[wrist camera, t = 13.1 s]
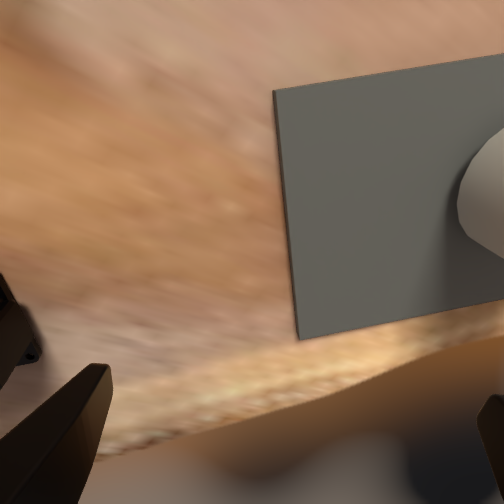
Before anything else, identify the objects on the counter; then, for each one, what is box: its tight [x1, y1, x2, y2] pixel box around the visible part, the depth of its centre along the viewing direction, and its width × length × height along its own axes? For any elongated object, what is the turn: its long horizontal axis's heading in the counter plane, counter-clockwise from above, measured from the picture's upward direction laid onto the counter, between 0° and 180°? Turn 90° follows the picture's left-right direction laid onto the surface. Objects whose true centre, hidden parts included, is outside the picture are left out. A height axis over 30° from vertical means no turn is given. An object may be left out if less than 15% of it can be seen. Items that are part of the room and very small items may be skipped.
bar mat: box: [273, 53, 504, 340], centre depth 21 cm, size 22×15×1 cm
